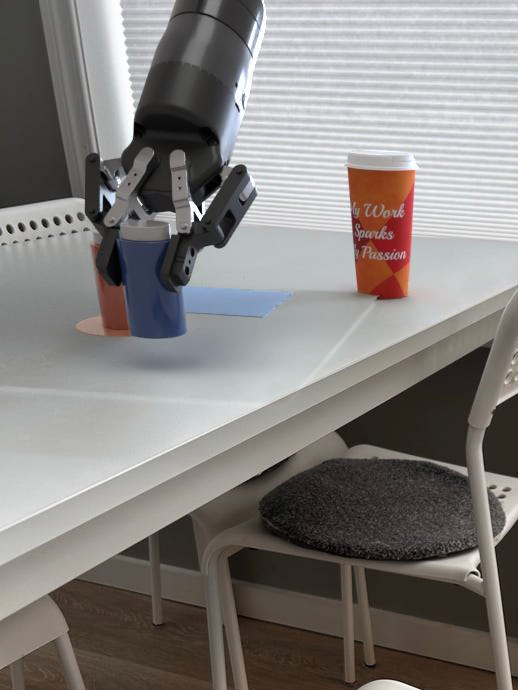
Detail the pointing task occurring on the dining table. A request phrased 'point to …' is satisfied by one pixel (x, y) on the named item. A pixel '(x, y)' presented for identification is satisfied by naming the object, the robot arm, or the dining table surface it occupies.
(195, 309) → the blue mat
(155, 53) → the robot arm
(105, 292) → the red shaker
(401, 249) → the paper cup
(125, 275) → the blue shaker
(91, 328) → the terracotta coaster
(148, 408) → the dining table surface
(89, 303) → the dining table surface
